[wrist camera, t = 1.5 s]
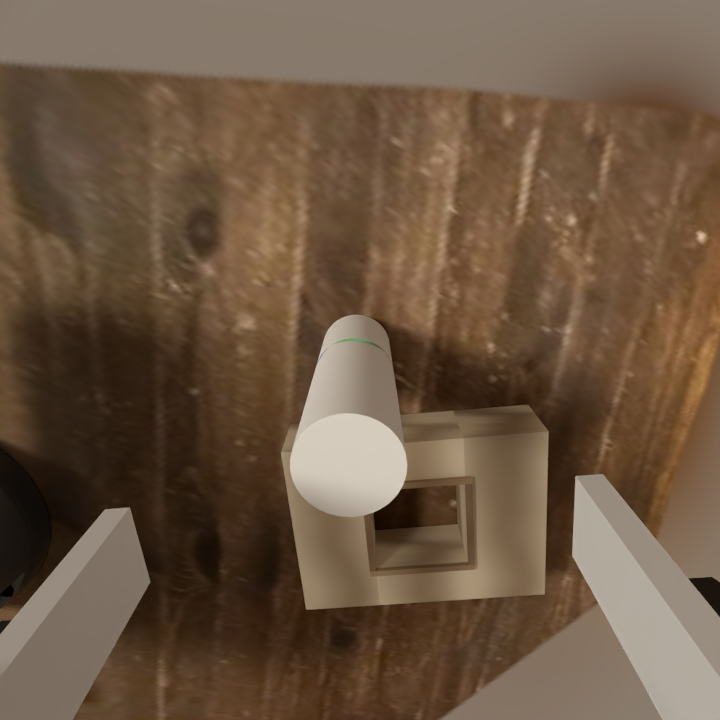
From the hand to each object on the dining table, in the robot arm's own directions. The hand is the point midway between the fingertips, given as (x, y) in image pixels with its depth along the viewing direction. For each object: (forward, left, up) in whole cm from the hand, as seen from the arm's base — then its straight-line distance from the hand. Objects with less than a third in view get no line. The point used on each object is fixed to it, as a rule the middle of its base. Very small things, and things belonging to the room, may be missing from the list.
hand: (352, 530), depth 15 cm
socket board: (+3, -11, -19) cm, 22 cm away
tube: (0, 0, -19) cm, 19 cm away
